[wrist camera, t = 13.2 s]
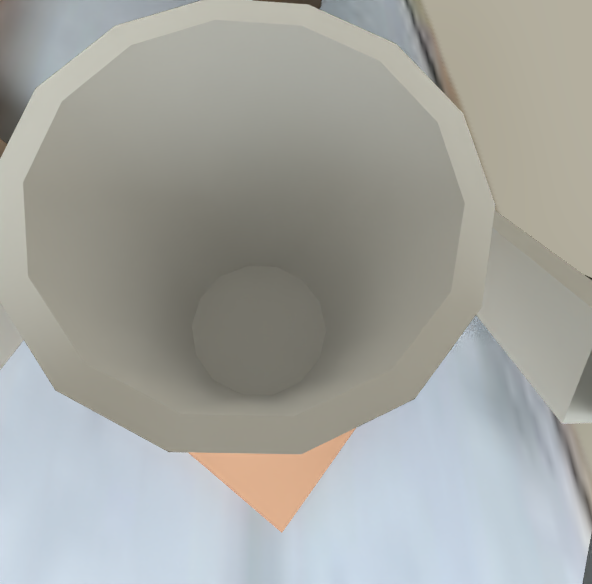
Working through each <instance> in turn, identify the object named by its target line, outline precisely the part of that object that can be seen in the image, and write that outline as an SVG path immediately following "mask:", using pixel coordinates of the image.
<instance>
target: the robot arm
mask: <svg viewBox="0 0 592 584" xmlns="http://www.w3.org/2000/svg"><path fill="white" fill-rule="evenodd" d="M476 315H477V316H478V318H479V319H480V320H481V322H482V323H483V324H484V325H485V327H486V328H487V329H488V330H489V332H490V333H491V334H492V335H493V337H494V338H495V339H496V341H497V342H498V343H499V344H500V346H501V347H502V348H503V349H504V351H505V352H506V353H507V355H508V356H509V357H510V358H511V360H512V361H513V362H514V363H515V365H516V366H517V367H518V368H519V370H520V371H521V372H522V374H523V375H524V376H525V377H526V379H527V380H528V381H529V382H530V384H531V385H532V386H533V388H534V389H535V390H536V391H537V393H538V394H539V395H540V396H541V398H542V399H543V400H544V402H545V403H546V404H547V405H548V407H549V408H550V409H551V410H552V412H553V413H554V414H555V415H556V417H557V418H558V419H559V421H560V422H561V423H562V424H576V423H592V278H590V277H588V276H586V275H584V274H582V273H581V272H579V271H578V270H577V269H575V268H574V267H572V266H571V265H570V264H568V263H567V262H565V261H564V260H563V259H561V258H560V257H559V256H557V255H556V254H555V253H553V252H552V251H550V250H549V249H548V248H546V247H545V246H543V245H542V244H541V243H539V242H538V241H537V240H535V239H534V238H532V237H531V236H530V235H528V234H527V233H525V232H524V231H523V230H521V229H520V228H519V227H517V226H516V225H514V224H513V223H512V222H510V221H509V220H508V219H506V218H505V217H504V216H502V215H501V214H499V213H498V212H497V211H495V212H494V219H493V226H492V234H491V241H490V249H489V256H488V263H487V271H486V278H485V286H484V293H483V301H482V307H481V309H480V310H479V311H478V313H477V314H476ZM23 340H24V339H23V338H22V336H21V335H20V333H19V331H18V330H17V328H16V327H15V325H14V323H13V322H12V320H11V319H10V317H9V315H8V314H7V312H6V311H5V309H4V307H3V306H2V304H1V303H0V370H1V368H2V367H3V366H4V365H5V363H6V362H7V361H8V359H9V358H10V357H11V356H12V354H13V353H14V352H15V351H16V349H17V348H18V347H19V345H20V344H21V343H22V342H23ZM583 584H592V534H591V540H590V545H589V551H588V556H587V562H586V567H585V573H584V578H583Z"/></svg>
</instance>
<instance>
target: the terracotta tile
mask: <svg viewBox="0 0 592 584" xmlns="http://www.w3.org/2000/svg"><path fill="white" fill-rule="evenodd" d="M355 429H356V428H354V429H352V430H350V431H348V432H346V433H344V434H342V435H340V436H338V437H336V438H334V439H332V440H330V441H328V442H326V443H324V444H322V445H319V446H317V447H315V448H313V449H311V450H309V451H307V452H305V453H303V454H252V453H195V452H188V453H189V454H191V455H192V456H193V457H194V458H195V459H196V460H198V461H199V462H200V463H201V464H202V465H203V466H205V467H206V468H207V469H208V470H209V471H210V472H212V473H213V474H214V475H215V476H216V477H217V478H219V479H220V480H221V481H222V482H223V483H224V484H226V485H227V486H228V487H229V488H230V489H231V490H233V491H234V492H235V493H236V494H237V495H238V496H240V497H241V498H242V499H243V500H244V501H245V502H247V503H248V504H249V505H250V506H251V507H252V508H254V509H255V510H256V511H257V512H258V513H259V514H261V515H262V516H263V517H264V518H265V519H266V520H268V521H269V522H270V523H271V524H272V525H274V526H275V527H276V528H277V529H278V530H279V531H281V532H283V531H284V529H285V528H286V526H287V525H288V523H289V522H290V521H291V519H292V518H293V516H294V515H295V514H296V512H297V511H298V509H299V508H300V506H301V505H302V504H303V502H304V501H305V499H306V498H307V497H308V495H309V494H310V492H311V491H312V489H313V488H314V487H315V485H316V484H317V482H318V481H319V480H320V478H321V477H322V475H323V474H324V472H325V471H326V470H327V468H328V467H329V465H330V464H331V463H332V461H333V460H334V458H335V457H336V455H337V454H338V453H339V451H340V450H341V448H342V447H343V446H344V444H345V443H346V441H347V440H348V438H349V437H350V436H351V434H352V433H353V431H354V430H355Z"/></svg>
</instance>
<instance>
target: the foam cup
mask: <svg viewBox="0 0 592 584" xmlns="http://www.w3.org/2000/svg"><path fill="white" fill-rule="evenodd" d="M494 212H495V202H494V199H493V197H492V194H491V191H490V188H489V185H488V182H487V180H486V177H485V174H484V171H483V168H482V166H481V163H480V160H479V157H478V154H477V151H476V149H475V146H474V143H473V140H472V137H471V134H470V132H469V129H468V126H467V123H466V120H465V118H464V115H463V113H462V112H461V111H460V109H459V108H458V107H457V106H456V105H455V104H454V103H453V102H452V101H451V100H450V99H449V98H448V97H447V96H446V95H445V94H444V93H443V92H442V91H441V90H440V89H439V88H438V87H437V86H436V85H435V84H434V83H433V81H432V80H431V79H430V78H429V77H428V76H427V75H426V74H425V73H424V72H423V71H422V70H421V69H420V68H419V67H418V66H417V65H416V64H415V63H414V62H413V61H412V60H411V59H410V58H409V57H408V56H407V55H406V53H405V52H404V51H403V50H402V49H401V48H400V47H399V46H398V45H397V44H395V43H393V42H391V41H389V40H386V39H384V38H382V37H380V36H377V35H375V34H373V33H371V32H369V31H366V30H364V29H362V28H360V27H357V26H355V25H353V24H351V23H349V22H346V21H344V20H342V19H340V18H337V17H335V16H333V15H331V14H329V13H326V12H324V11H322V10H320V9H317V8H315V7H313V6H311V5H309V4H295V3H281V2H266V1H252V0H201V1H198V2H194V3H191V4H187V5H184V6H181V7H177V8H174V9H170V10H167V11H163V12H160V13H157V14H153V15H150V16H146V17H143V18H140V19H136V20H133V21H129V22H126V23H123V24H119V25H116V26H114V27H113V28H111V29H110V30H109V31H108V32H106V33H105V34H104V35H103V36H101V37H100V38H99V39H98V40H96V41H95V42H94V43H92V44H91V45H90V46H89V47H87V48H86V49H85V50H84V51H82V52H81V53H80V54H79V55H77V56H76V57H75V58H73V59H72V60H71V61H70V62H68V63H67V64H66V65H65V66H63V67H62V68H61V69H60V70H58V71H57V72H56V73H54V74H53V75H52V76H51V77H49V78H48V79H47V80H46V81H44V82H43V83H42V84H41V85H39V86H38V87H37V88H36V89H35V91H34V93H33V95H32V97H31V98H30V100H29V102H28V104H27V106H26V108H25V110H24V112H23V114H22V116H21V118H20V120H19V122H18V124H17V126H16V128H15V130H14V132H13V134H12V136H11V138H10V140H9V142H8V144H7V146H6V148H5V150H4V152H3V154H2V156H1V158H0V303H1V304H2V306H3V307H4V309H5V311H6V312H7V314H8V315H9V317H10V319H11V320H12V322H13V323H14V325H15V327H16V328H17V330H18V331H19V333H20V335H21V336H22V338H23V339H24V341H25V342H26V344H27V346H28V347H29V349H30V350H31V352H32V354H33V355H34V357H35V358H36V360H37V362H38V363H39V365H40V366H41V368H42V370H43V371H44V373H45V374H46V376H47V378H48V379H49V381H50V382H51V384H52V386H53V387H54V389H55V390H56V391H58V392H60V393H61V394H63V395H65V396H67V397H69V398H71V399H72V400H74V401H76V402H78V403H80V404H82V405H83V406H85V407H87V408H89V409H91V410H93V411H94V412H96V413H98V414H100V415H102V416H104V417H105V418H107V419H109V420H111V421H113V422H115V423H116V424H118V425H120V426H122V427H124V428H126V429H127V430H129V431H131V432H133V433H135V434H137V435H138V436H140V437H142V438H144V439H146V440H148V441H149V442H151V443H153V444H155V445H157V446H159V447H160V448H162V449H164V450H166V451H168V452H195V453H252V454H303V453H305V452H307V451H309V450H311V449H313V448H315V447H317V446H319V445H322V444H324V443H326V442H328V441H330V440H332V439H334V438H336V437H338V436H340V435H342V434H344V433H346V432H348V431H350V430H352V429H354V428H356V427H358V426H360V425H362V424H364V423H366V422H369V421H371V420H373V419H375V418H377V417H379V416H381V415H383V414H385V413H387V412H389V411H391V410H393V409H395V408H397V407H399V406H401V405H403V404H405V403H407V402H409V401H411V400H413V399H415V398H416V396H417V395H418V394H419V392H420V391H421V390H422V388H423V387H424V385H425V384H426V383H427V381H428V380H429V379H430V377H431V376H432V374H433V373H434V372H435V370H436V369H437V368H438V366H439V365H440V363H441V362H442V361H443V359H444V358H445V357H446V355H447V354H448V352H449V351H450V350H451V348H452V347H453V346H454V344H455V343H456V341H457V340H458V339H459V337H460V336H461V335H462V333H463V332H464V330H465V329H466V328H467V326H468V325H469V324H470V322H471V321H472V319H473V318H474V317H475V315H476V314H477V313H478V311H479V310H480V309H481V307H482V301H483V293H484V286H485V278H486V271H487V263H488V256H489V249H490V241H491V234H492V226H493V219H494Z"/></svg>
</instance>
